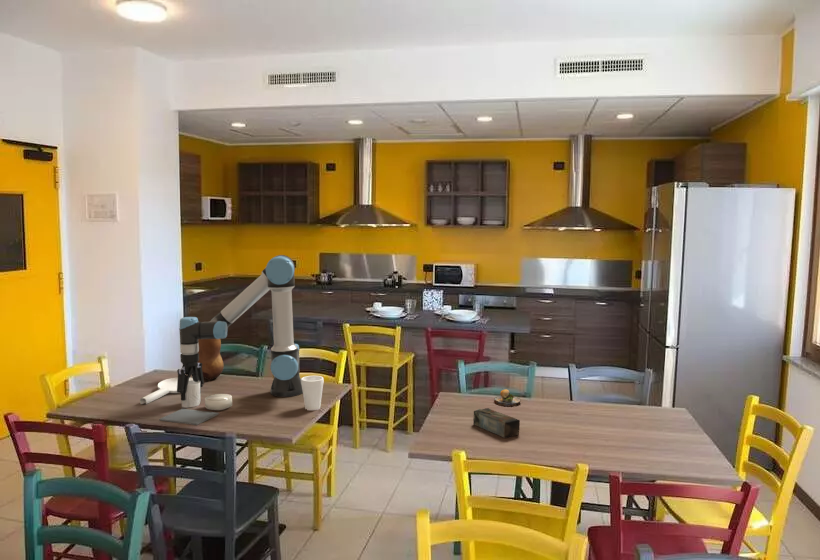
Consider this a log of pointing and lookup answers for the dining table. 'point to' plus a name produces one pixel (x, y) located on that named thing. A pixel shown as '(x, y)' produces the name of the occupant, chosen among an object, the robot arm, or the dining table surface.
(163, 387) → the frying pan
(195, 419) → the mat
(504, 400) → the plate of food
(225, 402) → the bowl
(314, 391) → the foam cup
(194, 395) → the white cup
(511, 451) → the dining table surface
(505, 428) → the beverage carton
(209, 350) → the butternut squash
